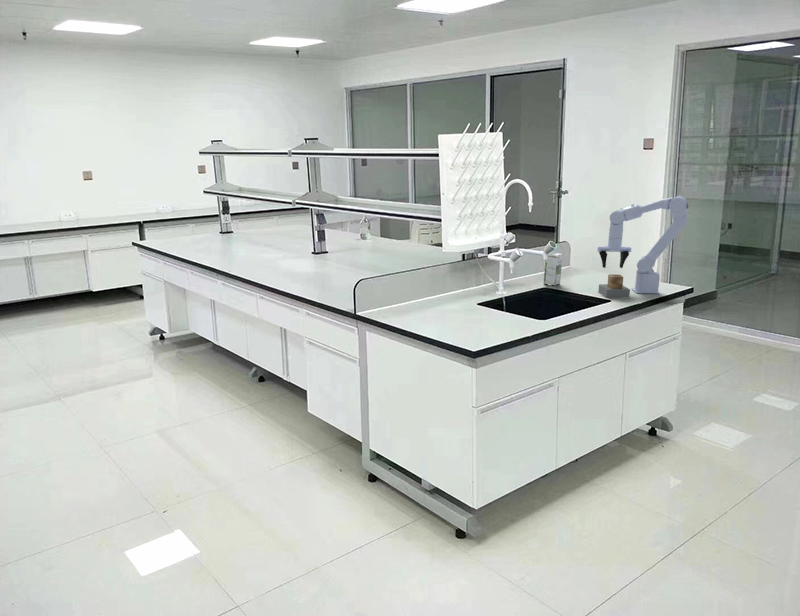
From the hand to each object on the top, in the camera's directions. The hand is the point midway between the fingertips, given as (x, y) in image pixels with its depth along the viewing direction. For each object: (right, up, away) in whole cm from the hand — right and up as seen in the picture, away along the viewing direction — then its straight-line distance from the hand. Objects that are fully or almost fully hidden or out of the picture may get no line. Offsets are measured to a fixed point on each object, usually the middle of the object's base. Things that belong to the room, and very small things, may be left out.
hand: (612, 267), depth 290 cm
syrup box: (-25, -7, +9) cm, 28 cm away
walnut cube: (-3, -9, -12) cm, 15 cm away
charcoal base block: (-3, -13, -10) cm, 17 cm away
